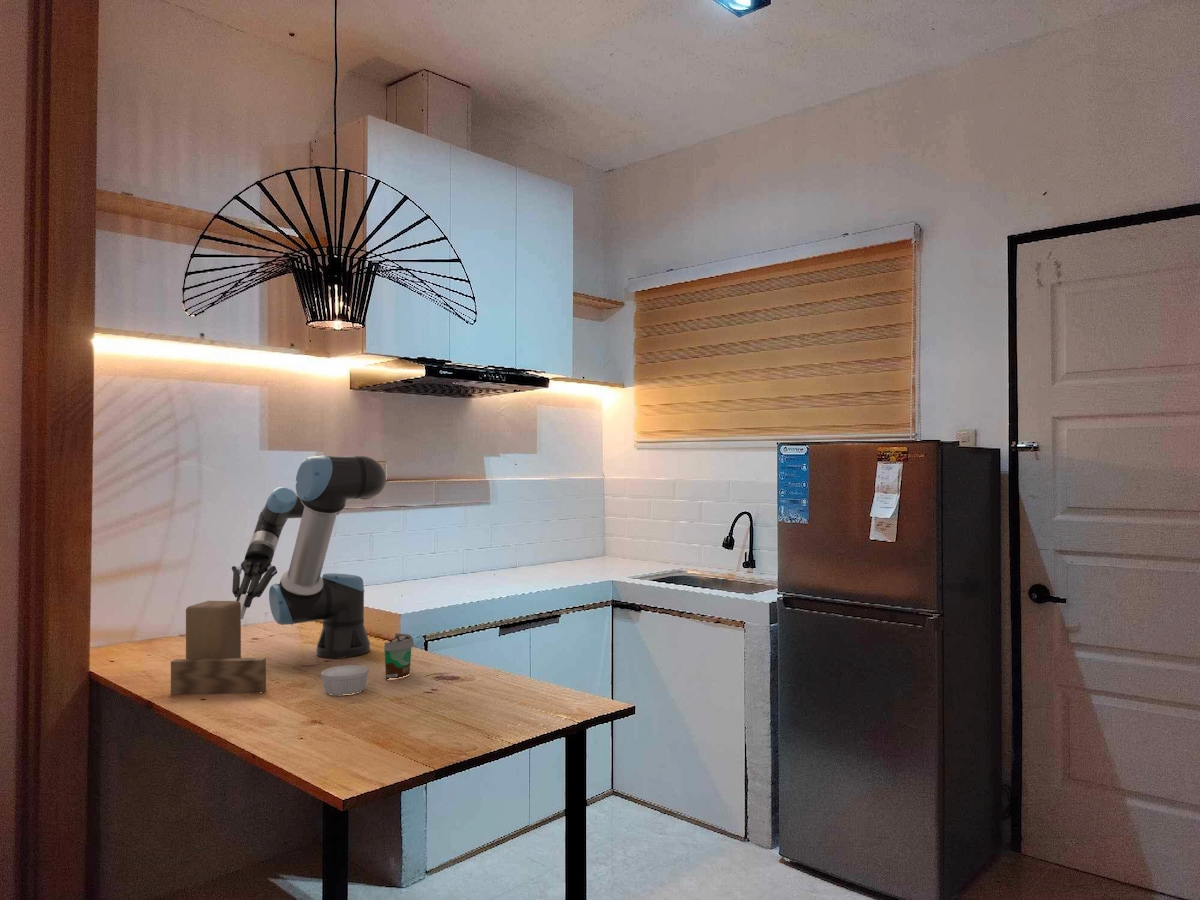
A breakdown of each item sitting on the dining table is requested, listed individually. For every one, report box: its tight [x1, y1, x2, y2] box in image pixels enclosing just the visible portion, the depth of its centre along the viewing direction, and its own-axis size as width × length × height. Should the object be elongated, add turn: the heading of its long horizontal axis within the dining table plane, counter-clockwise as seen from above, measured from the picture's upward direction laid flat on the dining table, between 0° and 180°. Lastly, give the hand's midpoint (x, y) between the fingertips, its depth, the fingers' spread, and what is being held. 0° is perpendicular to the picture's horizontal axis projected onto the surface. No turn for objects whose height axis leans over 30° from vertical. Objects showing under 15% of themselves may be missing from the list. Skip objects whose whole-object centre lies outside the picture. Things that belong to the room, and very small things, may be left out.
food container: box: [383, 633, 415, 680], centre depth 218 cm, size 12×6×10 cm, turn 0°
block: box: [185, 600, 242, 659], centre depth 214 cm, size 10×10×20 cm
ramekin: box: [320, 664, 370, 695], centre depth 203 cm, size 11×11×5 cm
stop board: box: [170, 657, 267, 695], centre depth 203 cm, size 22×2×8 cm, turn 92°
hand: (238, 616), depth 231 cm, fingers closed
